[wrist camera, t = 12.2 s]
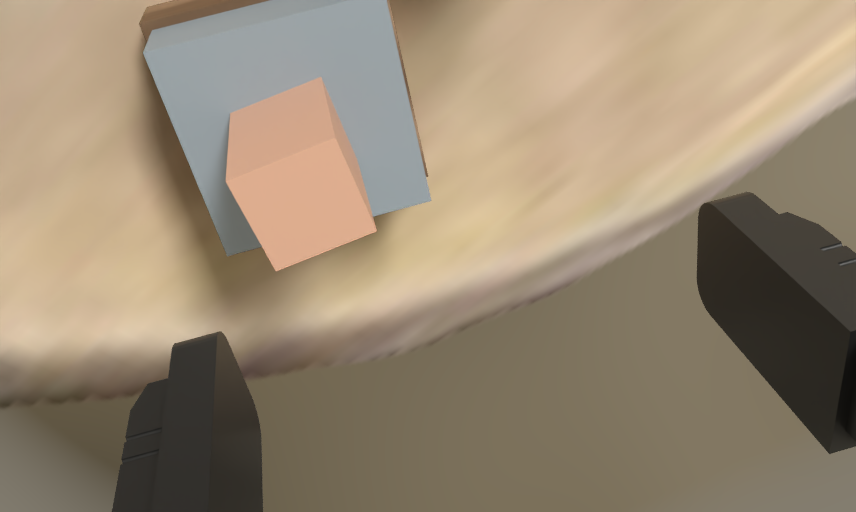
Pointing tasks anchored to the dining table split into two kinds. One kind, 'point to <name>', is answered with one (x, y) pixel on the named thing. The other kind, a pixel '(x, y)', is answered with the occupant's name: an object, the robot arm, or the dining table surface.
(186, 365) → the robot arm
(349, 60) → the tower top
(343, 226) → the terracotta block
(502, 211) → the dining table surface
